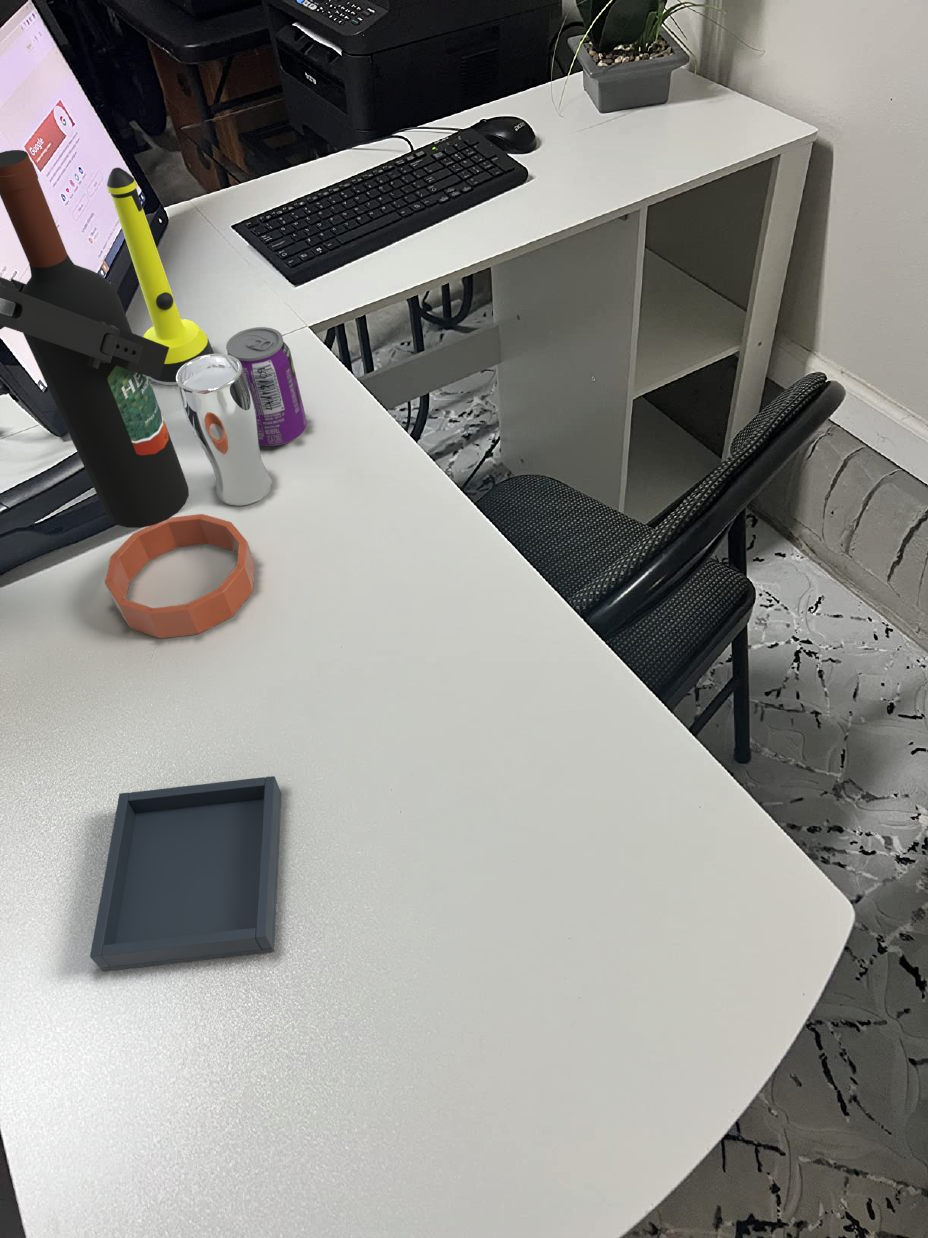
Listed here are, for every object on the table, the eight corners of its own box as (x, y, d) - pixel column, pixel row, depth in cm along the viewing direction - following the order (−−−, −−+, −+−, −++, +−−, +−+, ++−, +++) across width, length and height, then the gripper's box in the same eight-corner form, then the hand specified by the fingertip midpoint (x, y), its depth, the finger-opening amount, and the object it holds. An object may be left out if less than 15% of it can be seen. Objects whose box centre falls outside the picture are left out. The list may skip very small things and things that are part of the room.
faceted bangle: (90, 614, 95) (77, 590, 93) (173, 527, 103) (163, 502, 101) (202, 653, 91) (192, 628, 88) (279, 558, 99) (272, 533, 96)
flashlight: (63, 168, 107) (93, 194, 102) (137, 144, 110) (170, 167, 105) (135, 363, 126) (164, 393, 120) (197, 338, 129) (227, 365, 124)
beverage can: (319, 421, 114) (299, 330, 105) (287, 456, 110) (264, 365, 101) (269, 409, 117) (245, 319, 108) (236, 443, 112) (208, 353, 103)
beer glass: (289, 480, 107) (258, 363, 96) (246, 516, 103) (209, 399, 92) (243, 461, 110) (208, 345, 99) (200, 495, 106) (159, 379, 95)
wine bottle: (112, 477, 89) (-34, 141, 67) (193, 468, 89) (74, 130, 67) (97, 532, 84) (-66, 188, 62) (183, 523, 84) (50, 176, 62)
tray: (102, 971, 70) (89, 957, 68) (129, 810, 80) (119, 793, 78) (274, 952, 70) (266, 936, 69) (281, 792, 80) (274, 775, 78)
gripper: (-262, 266, 63) (34, 359, 84) (-82, 348, 54) (199, 430, 75) (-235, 152, 62) (59, 274, 82) (-46, 217, 53) (230, 336, 74)
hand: (126, 348), depth 79 cm, fingers closed on wine bottle, 7 cm apart
